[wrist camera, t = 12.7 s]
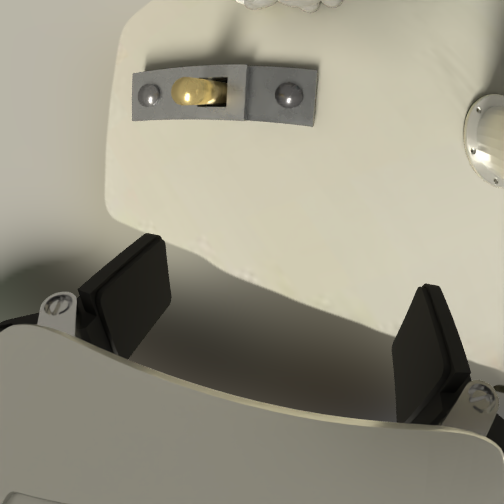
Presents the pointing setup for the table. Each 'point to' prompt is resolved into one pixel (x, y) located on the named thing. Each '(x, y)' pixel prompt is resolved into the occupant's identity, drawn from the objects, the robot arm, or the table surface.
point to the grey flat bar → (230, 94)
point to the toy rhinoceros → (291, 4)
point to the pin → (198, 91)
